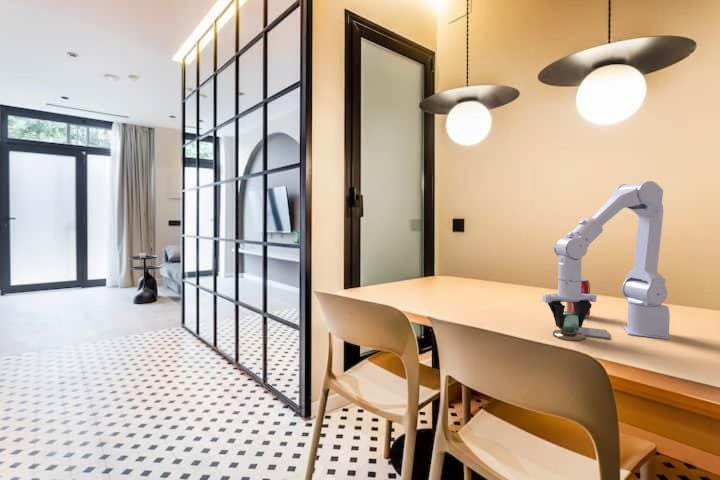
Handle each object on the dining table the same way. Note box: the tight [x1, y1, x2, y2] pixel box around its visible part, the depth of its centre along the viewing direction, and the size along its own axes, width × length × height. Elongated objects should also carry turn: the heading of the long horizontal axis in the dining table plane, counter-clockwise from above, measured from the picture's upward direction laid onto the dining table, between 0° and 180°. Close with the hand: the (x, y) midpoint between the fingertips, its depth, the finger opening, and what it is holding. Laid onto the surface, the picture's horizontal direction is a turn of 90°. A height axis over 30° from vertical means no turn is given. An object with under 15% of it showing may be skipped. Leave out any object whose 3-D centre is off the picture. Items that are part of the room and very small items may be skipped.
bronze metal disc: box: [552, 329, 586, 342], centre depth 106 cm, size 8×8×2 cm
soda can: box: [565, 277, 591, 319], centre depth 127 cm, size 7×7×13 cm
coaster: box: [577, 326, 611, 340], centre depth 108 cm, size 8×8×1 cm
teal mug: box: [558, 310, 579, 332], centre depth 105 cm, size 7×5×4 cm
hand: (568, 326), depth 105 cm, fingers closed on teal mug, 5 cm apart
